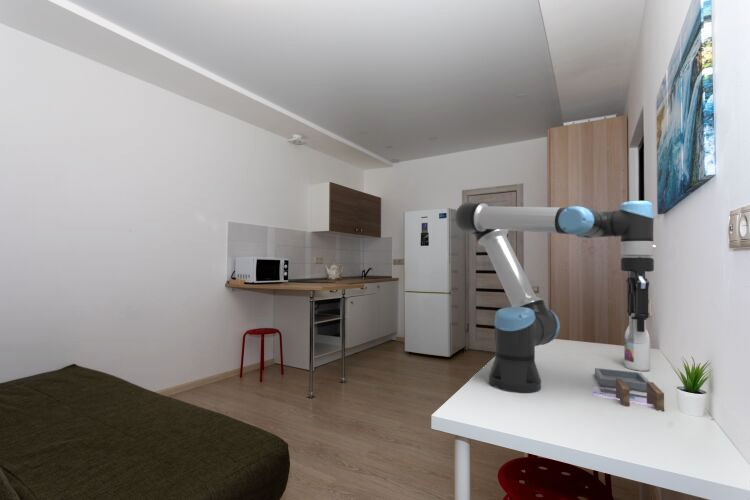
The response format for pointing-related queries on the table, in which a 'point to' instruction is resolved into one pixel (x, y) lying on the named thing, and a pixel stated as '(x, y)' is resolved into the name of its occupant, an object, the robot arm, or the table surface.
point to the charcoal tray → (631, 379)
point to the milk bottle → (637, 354)
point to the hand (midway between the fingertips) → (637, 341)
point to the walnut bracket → (652, 393)
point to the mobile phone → (613, 394)
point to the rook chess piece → (631, 330)
